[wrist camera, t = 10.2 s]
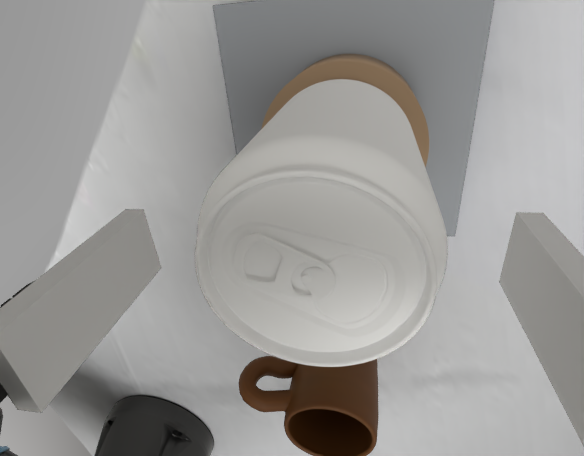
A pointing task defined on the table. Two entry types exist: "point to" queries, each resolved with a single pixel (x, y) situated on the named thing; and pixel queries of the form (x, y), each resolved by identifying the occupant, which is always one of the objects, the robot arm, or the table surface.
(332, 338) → the beverage can
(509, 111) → the table surface
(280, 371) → the mug
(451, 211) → the pedestal
